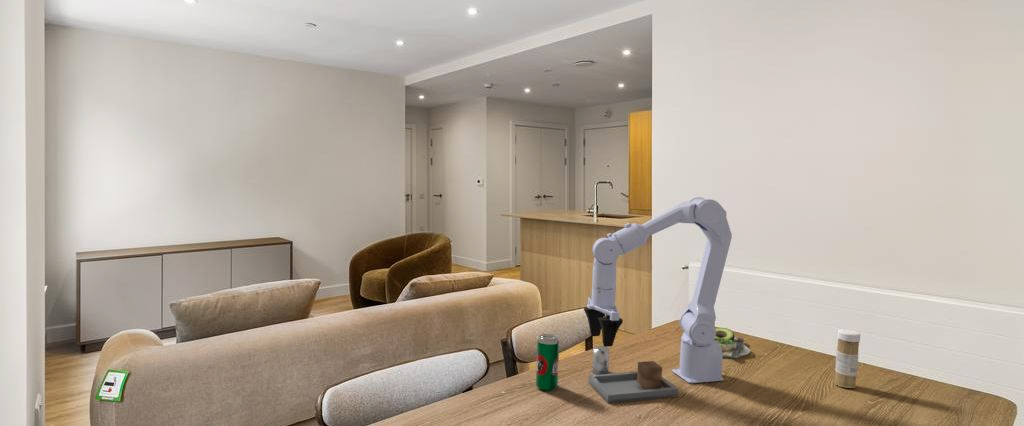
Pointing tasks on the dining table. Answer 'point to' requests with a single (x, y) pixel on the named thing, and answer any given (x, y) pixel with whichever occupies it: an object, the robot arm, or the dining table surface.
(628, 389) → the tray
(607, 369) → the steel cylinder
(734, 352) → the salad plate
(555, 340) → the soda can
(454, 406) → the dining table surface
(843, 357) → the sprinkles bottle
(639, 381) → the walnut block
